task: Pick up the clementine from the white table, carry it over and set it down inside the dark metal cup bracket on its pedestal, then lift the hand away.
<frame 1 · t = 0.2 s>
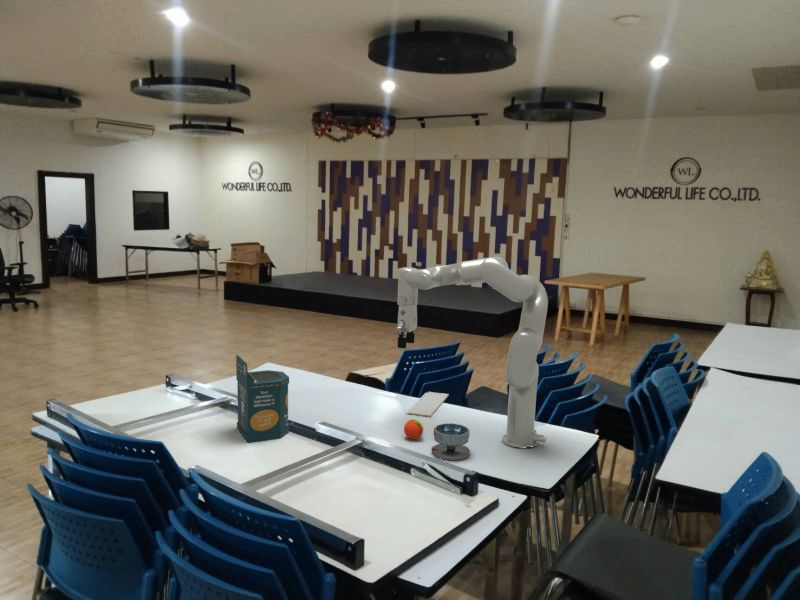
hand: (406, 345, 231), 31 cm above the table, tool pointing down, fingers open, 9 cm apart
cup bracket: (450, 453, 207), on the table
donation box: (264, 433, 222), on the table
baseboard molding: (426, 406, 259), on the table
clementine: (414, 439, 220), on the table
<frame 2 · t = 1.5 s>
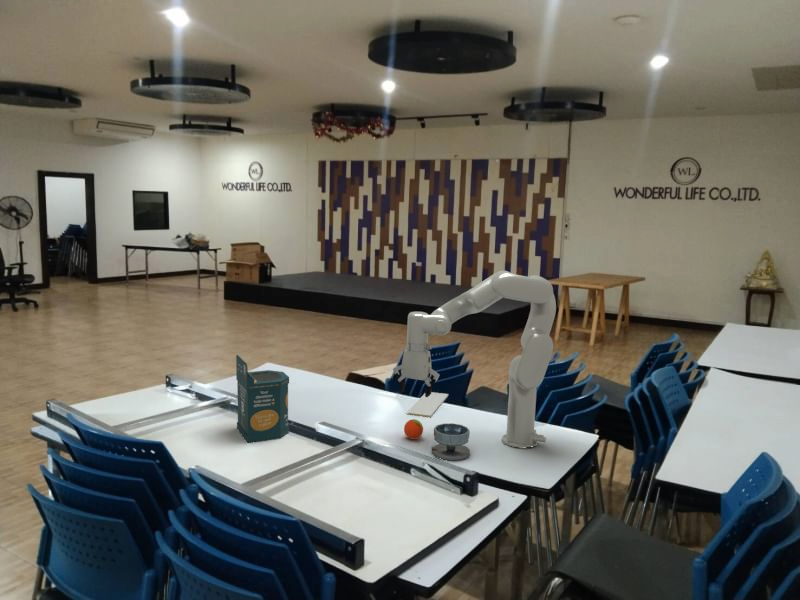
hand: (414, 394, 218), 17 cm above the table, tool pointing down, fingers open, 9 cm apart
nothing on the table moved.
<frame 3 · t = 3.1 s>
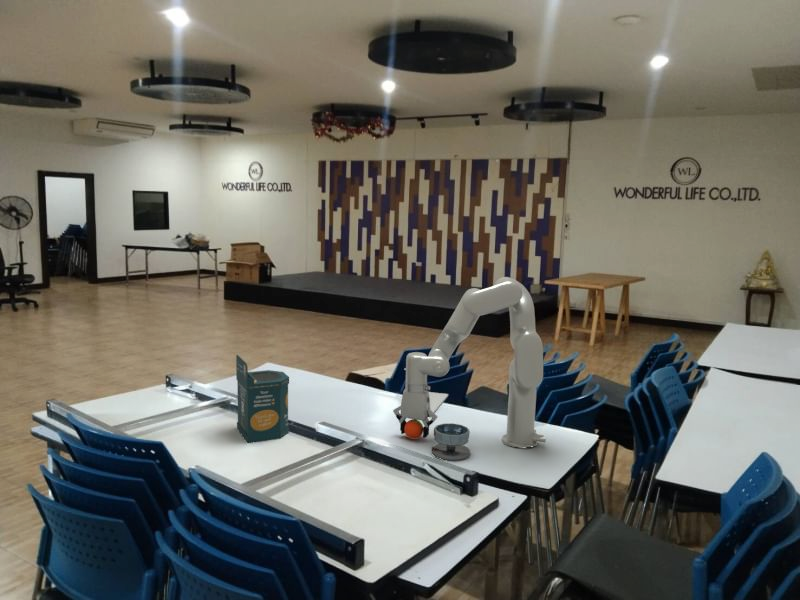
hand: (414, 434, 220), 2 cm above the table, tool pointing down, fingers closed on clementine, 7 cm apart
clementine: (414, 439, 220), on the table, touching gripper
everything else where it was.
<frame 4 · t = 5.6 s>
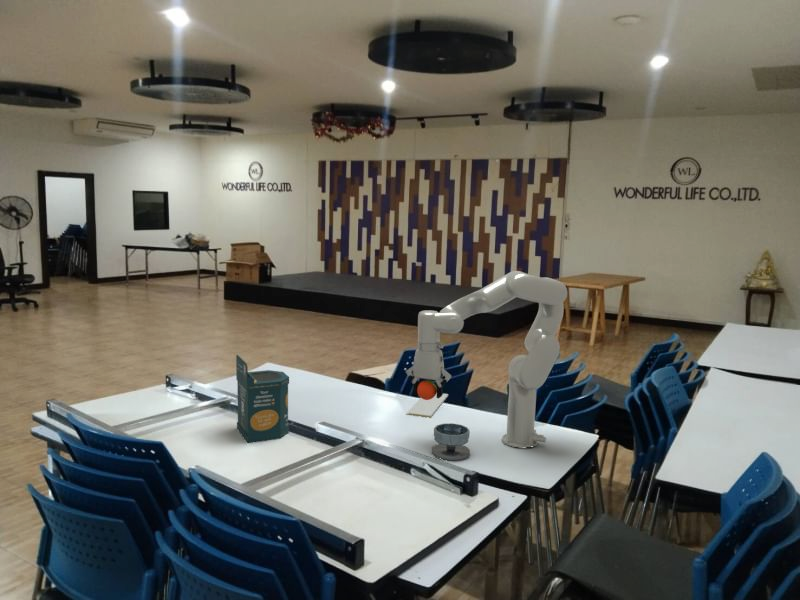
hand: (427, 395, 214), 17 cm above the table, tool pointing down, fingers closed on clementine, 7 cm apart
clementine: (427, 400, 214), point 16 cm above the table, touching gripper
everything else where it was.
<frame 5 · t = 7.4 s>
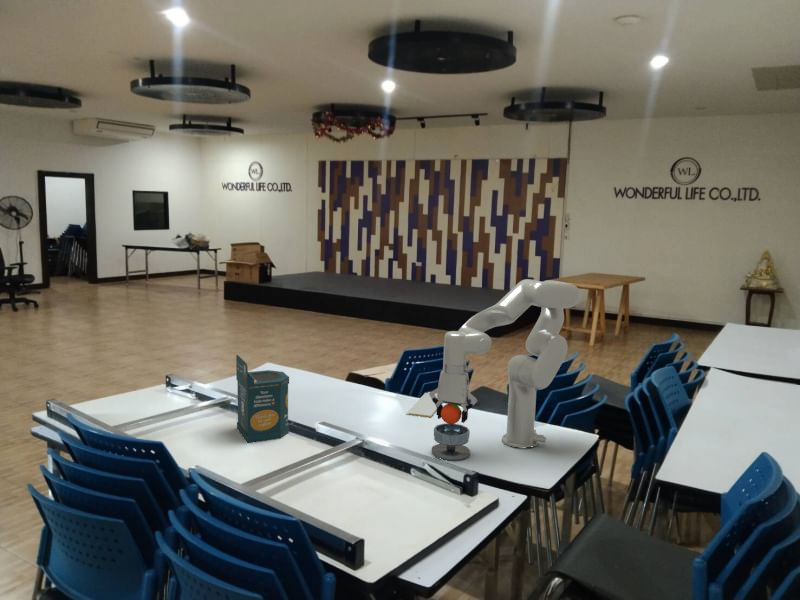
hand: (451, 419, 206), 12 cm above the table, tool pointing down, fingers closed on clementine, 7 cm apart
clementine: (451, 424, 206), point 10 cm above the table, touching gripper
everything else where it was.
when the fingers open (10 cm above the table, at t = 8.4 s): clementine drops 2 cm, resting on cup bracket.
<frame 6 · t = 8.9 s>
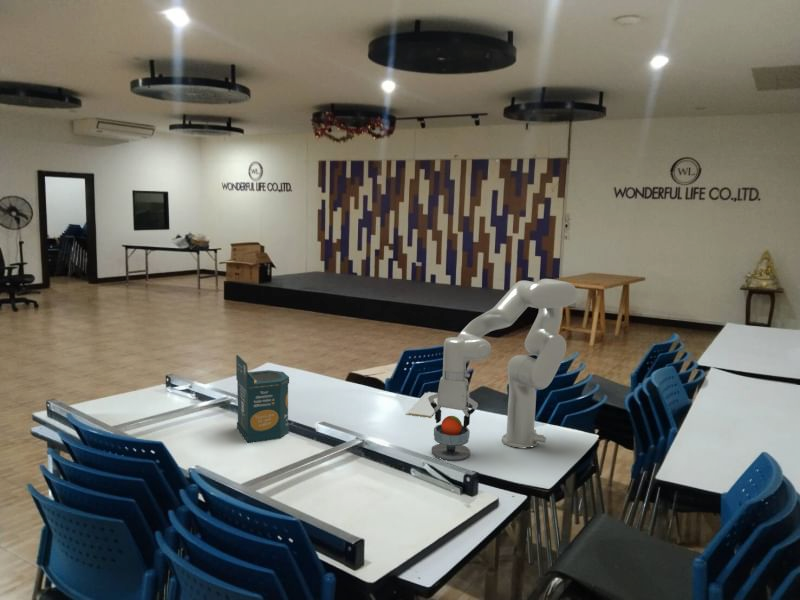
hand: (451, 424, 206), 10 cm above the table, tool pointing down, fingers open, 9 cm apart
clementine: (452, 437, 206), point 6 cm above the table, touching cup bracket
everything else where it was.
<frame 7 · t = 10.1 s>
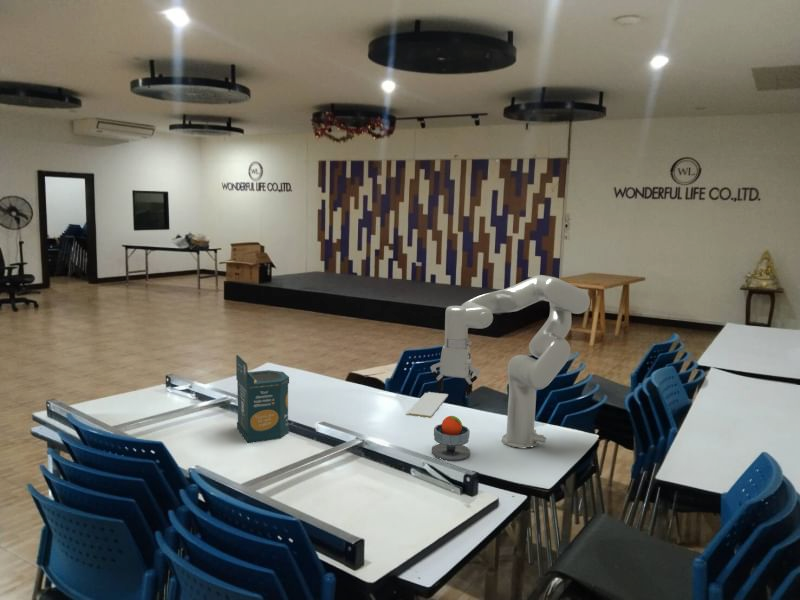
hand: (454, 392, 206), 21 cm above the table, tool pointing down, fingers open, 9 cm apart
nothing on the table moved.
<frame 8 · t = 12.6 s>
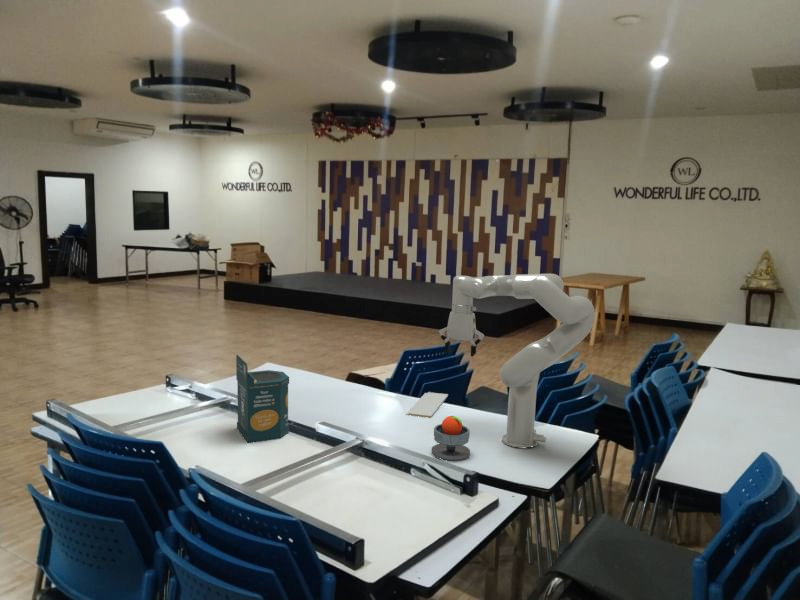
hand: (460, 354, 229), 28 cm above the table, tool pointing down, fingers open, 9 cm apart
nothing on the table moved.
at the end: clementine 0.4 cm off-centre on the cup bracket, point 5.8 cm above the cup bracket's base; clementine touching cup bracket; the gripper is holding nothing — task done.
